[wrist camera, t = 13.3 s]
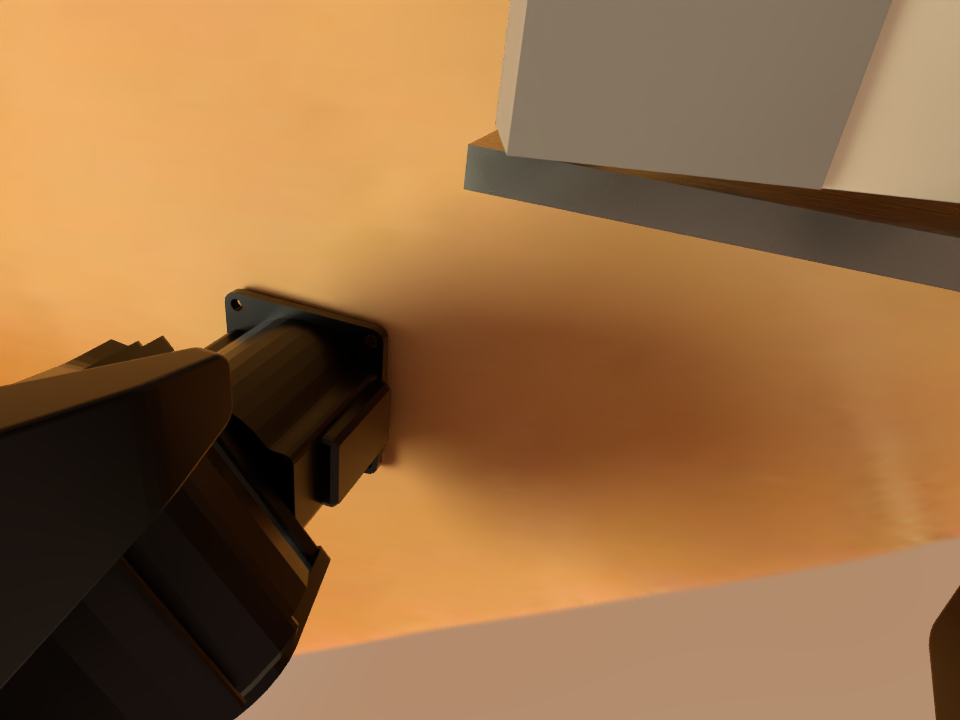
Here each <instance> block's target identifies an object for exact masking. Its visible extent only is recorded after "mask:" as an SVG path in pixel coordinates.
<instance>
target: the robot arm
mask: <svg viewBox="0 0 960 720" xmlns="http://www.w3.org/2000/svg"><path fill="white" fill-rule="evenodd" d="M237 300H239V301H240V302H241V304H242V306H240V305H239V303H238V301H237ZM225 310H226V322H227V334H226V335H224V336H223V337H221V338H220V339H218V340H216V341H215V342H213V343H212V344H210V345H209V346H207V347H206V348H204V349H203V348H196V347H195V348H189V349H184V350H179V351H174V349H173V348H172V347H171V345H170V344H169V343H168V341H167V340H166V339H165V337H164V336H161V337H159V338H157V339H156V340H154V341H152V342H150V343H148V344H146V345H144V346H142V345H141V343H140V342H139V341H137V342H135V343H133V344H131V345H129V346H127V345H125V344H122V343H119V342H117V341H114V340H112V339H111V340H109V341H107V342H105V343H103V344H102V345H100V346H98V347H96V348H94V349H92V350H90V351H88V352H86V353H85V354H83V355H81V356H79V357H77V358H75V359H73V360H71V361H69V362H67V363H65V364H62V365H60V366H58V367H55V368H53V369H50V370H47V371H45V372H42V373H40V374H37V375H35V376H32V377H30V378H27V379H24V380H22V381H19V382H17V383H14V384H10V385H5V386H0V720H233V719H235V718H237V717H238V716H239V715H240V714H241V713H243V712H244V711H245V710H246V709H248V708H249V707H250V706H251V705H252V704H253V703H254V702H255V701H257V700H258V698H260V697H261V696H262V694H264V693H265V692H266V691H267V690H268V688H269V687H270V686H271V685H272V683H273V682H274V681H275V680H276V679H277V678H278V676H279V675H280V674H281V672H282V671H283V669H284V668H285V666H286V665H287V663H288V662H289V660H290V659H291V657H292V655H293V653H294V651H295V649H296V646H297V644H298V641H299V639H300V636H301V634H302V631H303V629H304V626H305V624H306V621H307V618H308V616H309V613H310V611H311V608H312V606H313V603H314V601H315V598H316V596H317V593H318V590H319V588H320V585H321V583H322V580H323V578H324V575H325V573H326V570H327V568H328V565H329V563H330V557H329V556H328V555H327V553H326V552H325V551H324V549H323V548H322V547H321V546H317V545H316V544H315V543H314V541H313V540H312V539H311V537H310V536H309V535H308V533H307V532H306V531H305V529H304V527H305V526H306V525H307V524H308V522H309V521H310V520H311V519H312V517H313V516H314V515H315V514H316V513H317V511H318V510H319V509H320V508H321V506H322V505H326V506H329V507H334V506H336V505H337V504H339V503H340V502H341V501H342V500H343V498H344V497H345V496H346V494H347V493H348V492H349V491H350V489H351V488H352V487H353V486H354V484H355V483H356V482H357V480H358V479H359V478H360V477H361V475H362V474H363V473H368V474H371V473H374V472H375V471H376V470H377V469H378V468H379V466H380V465H381V462H382V450H383V447H384V446H385V445H386V444H387V442H388V435H389V418H390V401H391V388H390V386H389V384H388V383H387V382H386V376H387V358H388V335H387V333H386V331H385V330H384V329H383V328H382V327H381V326H379V325H377V324H373V323H370V322H366V321H362V320H358V319H354V318H350V317H347V316H343V315H339V314H335V313H331V312H328V311H324V310H320V309H316V308H312V307H309V306H305V305H301V304H297V303H293V302H289V301H286V300H282V299H278V298H274V297H270V296H267V295H263V294H259V293H255V292H251V291H247V290H244V289H237V290H234V291H233V292H231V293H229V294H227V296H226V297H225ZM369 335H372V336H374V337H375V338H376V339H377V343H375V342H373V341H372V340H371V339H370V336H369ZM173 351H174V352H173ZM929 650H930V651H929V652H930V662H931V671H932V683H933V693H934V703H935V714H936V720H960V586H959V587H958V589H957V590H956V592H955V593H954V594H953V596H952V598H951V599H950V600H949V602H948V603H947V605H946V606H945V608H944V609H943V610H942V612H941V613H940V615H939V616H938V618H937V619H936V621H935V623H934V624H933V626H932V629H931V632H930V637H929Z"/></svg>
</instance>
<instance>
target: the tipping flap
mask: <svg viewBox="0 0 960 720" xmlns="http://www.w3.org/2000/svg"><path fill="white" fill-rule="evenodd" d="M495 124H496V127H497V130H498V132H499V135H500V138H501V141H502V144H503V146H504V149H505V152H506V155H508V156H517V157H526V158H535V159H544V160H553V161H563V162H572V163H581V164H590V165H599V166H608V167H618V168H627V169H636V170H645V171H654V172H663V173H672V174H682V175H691V176H700V177H709V178H718V179H727V180H737V181H746V182H755V183H764V184H773V185H782V186H792V187H801V188H810V189H819V190H821V189H822V188H826V189H835V190H844V191H853V192H862V193H871V194H881V195H890V196H899V197H908V198H917V199H926V200H935V201H945V202H954V203H960V0H511V1H510V9H509V17H508V25H507V33H506V41H505V49H504V58H503V66H502V74H501V82H500V90H499V98H498V106H497V115H496V123H495Z"/></svg>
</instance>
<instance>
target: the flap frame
mask: <svg viewBox="0 0 960 720" xmlns="http://www.w3.org/2000/svg"><path fill="white" fill-rule="evenodd" d="M464 189H466V190H470V191H475V192H480V193H485V194H490V195H495V196H499V197H504V198H509V199H514V200H519V201H524V202H528V203H533V204H538V205H543V206H548V207H553V208H557V209H562V210H567V211H572V212H577V213H582V214H586V215H591V216H596V217H601V218H606V219H611V220H615V221H620V222H625V223H630V224H635V225H639V226H644V227H649V228H654V229H659V230H664V231H668V232H673V233H678V234H683V235H688V236H693V237H697V238H702V239H707V240H712V241H717V242H722V243H726V244H731V245H736V246H741V247H746V248H751V249H755V250H760V251H765V252H770V253H775V254H780V255H784V256H789V257H794V258H799V259H804V260H809V261H813V262H818V263H823V264H828V265H833V266H838V267H842V268H847V269H852V270H857V271H862V272H867V273H871V274H876V275H881V276H886V277H891V278H896V279H900V280H905V281H910V282H915V283H920V284H925V285H929V286H934V287H939V288H944V289H949V290H953V291H958V292H960V203H954V202H945V201H935V200H926V199H917V198H908V197H899V196H890V195H881V194H871V193H862V192H853V191H844V190H835V189H826V188H822V189H821V190H819V189H810V188H801V187H792V186H782V185H773V184H764V183H755V182H746V181H737V180H727V179H718V178H709V177H700V176H691V175H682V174H672V173H663V172H654V171H645V170H636V169H627V168H618V167H608V166H599V165H590V164H581V163H572V162H563V161H553V160H544V159H535V158H526V157H517V156H508V155H506V152H505V149H504V146H503V144H502V141H501V138H500V135H499V132H498V130H496V131H494V132H492V133H490V134H488V135H486V136H484V137H482V138H480V139H478V140H476V141H474V142H472V143H470V144H468V153H467V163H466V172H465V182H464Z"/></svg>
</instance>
